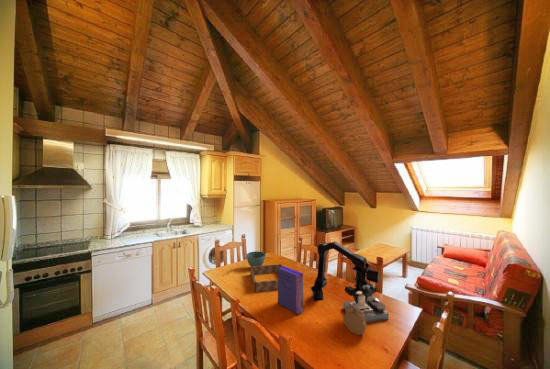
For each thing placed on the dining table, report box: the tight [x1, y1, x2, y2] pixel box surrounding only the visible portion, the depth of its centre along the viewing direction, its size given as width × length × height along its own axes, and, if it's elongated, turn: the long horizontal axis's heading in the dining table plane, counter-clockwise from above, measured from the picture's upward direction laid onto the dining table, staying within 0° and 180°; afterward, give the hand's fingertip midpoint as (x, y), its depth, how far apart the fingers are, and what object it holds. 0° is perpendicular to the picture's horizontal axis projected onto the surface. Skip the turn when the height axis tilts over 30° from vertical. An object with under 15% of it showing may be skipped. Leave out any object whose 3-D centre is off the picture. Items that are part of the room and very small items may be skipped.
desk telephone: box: [342, 294, 390, 324], centre depth 127 cm, size 20×16×9 cm
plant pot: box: [246, 250, 267, 267], centre depth 197 cm, size 18×18×12 cm
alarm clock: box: [343, 305, 368, 336], centre depth 110 cm, size 11×5×15 cm, turn 47°
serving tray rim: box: [249, 263, 283, 293], centre depth 169 cm, size 28×30×7 cm
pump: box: [353, 291, 368, 309], centre depth 127 cm, size 6×8×7 cm
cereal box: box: [277, 265, 304, 315], centre depth 134 cm, size 17×5×24 cm, turn 45°
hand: (360, 303), depth 126 cm, fingers closed on pump, 5 cm apart
